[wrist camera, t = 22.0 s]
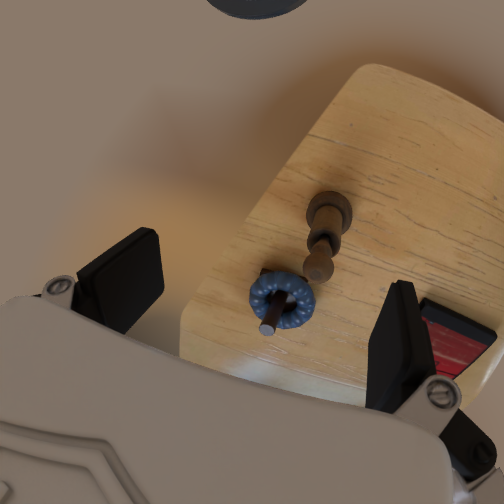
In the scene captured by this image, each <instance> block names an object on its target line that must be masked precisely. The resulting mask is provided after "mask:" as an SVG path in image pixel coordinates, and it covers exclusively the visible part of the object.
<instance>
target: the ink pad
mask: <svg viewBox="0 0 504 504" xmlns="http://www.w3.org/2000/svg"><path fill="white" fill-rule="evenodd" d="M419 308H420V312H421V316H422V320H423V321H425V322H426V323H427V326H428V330H429V335H430V340H431V344H432V349H433V354H434V360H435V365H436V371H437V375H444V376H447V377H449V378H451V379H452V380H454V379H455V378H456V377H457V376H459V375H460V374H461V373H462V372H463V371H464V370H466V369H467V368H468V367H469V366H470V365H471V364H472V363H473V362H475V361H476V360H477V359H478V358H479V357H480V356H481V355H482V354H483V353H484V352H485V351H486V350H487V349H488V348H489V347H490V346H491V345H492V344H493V343H494V342H495V341H496V339H497V334H496V332H495V331H493V330H491V329H489V328H487V327H485V326H483V325H481V324H479V323H477V322H475V321H473V320H471V319H469V318H467V317H465V316H463V315H461V314H458V313H456V312H454V311H452V310H450V309H448V308H446V307H444V306H441V305H439V304H437V303H435V302H433V301H431V300H428V299H426V298H423V300H422V301H421V302H420V304H419Z"/></svg>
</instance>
